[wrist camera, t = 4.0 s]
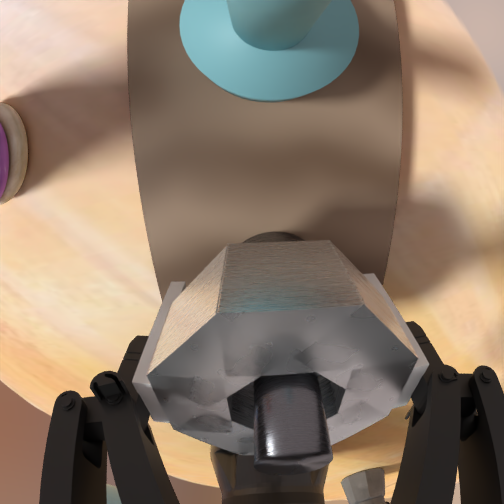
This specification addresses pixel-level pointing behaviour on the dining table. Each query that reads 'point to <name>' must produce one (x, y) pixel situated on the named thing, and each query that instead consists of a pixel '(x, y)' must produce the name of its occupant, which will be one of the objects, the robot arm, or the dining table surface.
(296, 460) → the stand rod
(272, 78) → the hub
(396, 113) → the walnut board
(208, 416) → the steel ring
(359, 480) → the coffeepot
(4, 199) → the stacking toy
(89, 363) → the dining table surface
